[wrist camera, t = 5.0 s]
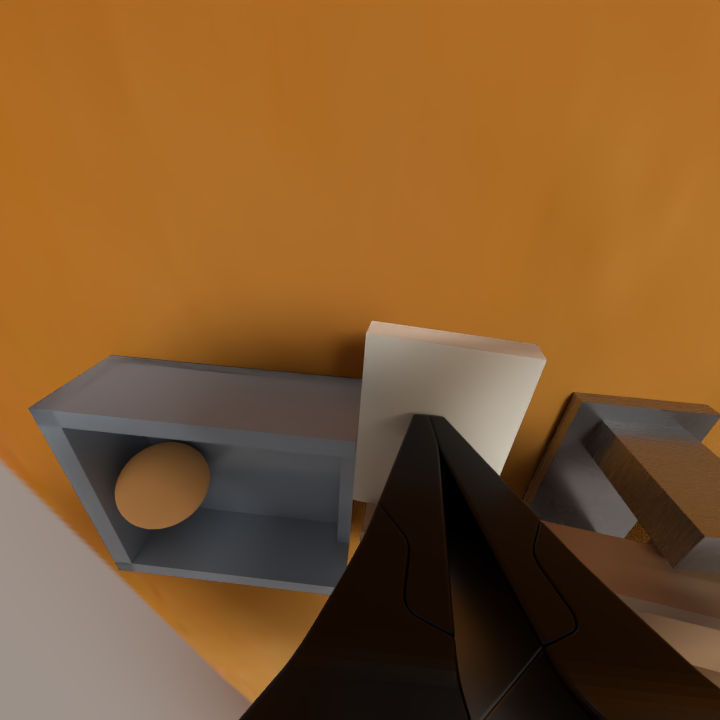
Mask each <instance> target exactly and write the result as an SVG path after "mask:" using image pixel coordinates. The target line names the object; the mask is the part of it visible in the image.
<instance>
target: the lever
mask: <svg viewBox="0 0 720 720" xmlns="http://www.w3.org/2000/svg"><path fill="white" fill-rule="evenodd" d="M546 361H547V360H546V358H545V356H544V355H543V353H542V352H541V350H540V348H539V347H538V345H537V344H532V343H525V342H518V341H511V340H504V339H497V338H490V337H483V336H476V335H469V334H462V333H455V332H448V331H441V330H434V329H427V328H420V327H413V326H406V325H399V324H392V323H385V322H378V321H372V322H371V324H370V326H369V328H368V330H367V332H366V340H365V352H364V365H363V377H362V389H361V401H360V413H359V425H358V438H357V450H356V462H355V474H354V486H353V500H357V501H361V502H366V503H367V507H366V511H365V516H364V521H363V525H362V530H361V537H360V541H361V540H362V538H363V536H364V534H365V531H366V529H367V527H368V525H369V523H370V520H371V518H372V515H373V513H374V510H375V508H376V506H377V503H378V501H379V498H380V496H381V493H382V491H383V488H384V486H385V483H386V481H387V478H388V476H389V473H390V471H391V469H392V466H393V464H394V461H395V459H396V456H397V454H398V451H399V449H400V446H401V444H402V441H403V439H404V436H405V434H406V431H407V429H408V426H409V424H410V421H411V419H412V416H413V415H414V414H424V415H428V416H429V415H435V416H443V417H445V418H446V419H447V420H448V421H449V423H450V424H451V425H452V426H453V427H454V428H455V429H456V430H457V431H458V432H459V433H460V434H461V435H462V436H463V437H464V439H465V440H466V441H467V442H468V443H469V444H470V445H471V446H472V447H473V448H474V449H475V450H476V451H477V452H478V453H479V454H480V456H481V457H482V458H483V459H484V460H485V461H486V462H487V463H488V464H489V465H490V466H491V467H492V468H493V469H494V470H495V472H496V473H497V474H498V475H499V476H500V474H501V471H502V469H503V466H504V464H505V462H506V459H507V457H508V454H509V452H510V449H511V447H512V444H513V442H514V439H515V437H516V435H517V432H518V430H519V427H520V425H521V422H522V420H523V417H524V415H525V412H526V410H527V408H528V405H529V403H530V400H531V398H532V395H533V393H534V390H535V388H536V385H537V383H538V381H539V378H540V376H541V373H542V371H543V368H544V366H545V363H546ZM540 521H542V520H540ZM540 521H539V522H540ZM542 522H544V524H545V525H546V526H547V527H548V528H549V529H550V530H551V531H552V532H553V533H554V534H555V535H556V536H557V537H558V538H559V539H560V540H561V541H562V542H563V543H564V545H565V546H566V547H567V548H568V549H569V550H570V551H571V552H572V553H573V554H574V555H575V556H576V557H577V558H578V559H579V560H580V561H581V562H582V563H583V564H584V565H585V566H586V567H587V568H588V569H590V570H591V571H592V572H593V573H594V574H595V575H596V576H597V577H598V578H599V579H600V580H601V581H602V582H603V583H604V584H605V585H606V586H607V587H608V588H609V589H610V590H612V591H613V592H614V593H615V594H616V595H617V596H618V597H619V598H620V599H621V600H622V601H623V602H625V603H626V604H627V605H628V606H629V607H630V608H631V609H632V610H633V611H634V612H635V613H636V614H637V615H639V616H640V617H641V618H642V619H643V620H644V621H645V622H646V623H647V624H648V625H649V626H650V627H652V628H653V629H654V630H655V631H656V632H657V633H658V634H659V635H660V636H661V637H662V638H663V639H664V640H666V641H667V642H668V643H669V644H670V645H671V646H672V647H673V648H674V649H675V650H676V651H677V652H678V653H680V654H681V655H682V656H683V657H684V658H685V659H686V660H687V661H688V662H689V663H691V664H692V665H693V666H694V667H695V668H696V669H697V670H698V671H700V672H701V673H702V674H703V675H704V676H705V677H707V678H708V679H709V680H710V681H712V682H713V683H714V684H715V685H717V686H718V687H719V688H720V574H716V573H707V572H698V571H689V570H681V569H673V568H672V567H671V565H670V564H669V562H668V561H667V560H666V558H665V557H664V556H663V554H662V553H661V552H660V550H659V549H658V547H657V546H656V545H655V543H654V542H653V541H652V539H650V541H649V542H648V543H642V542H638V541H633V540H628V539H624V538H619V537H615V536H610V535H606V534H601V533H597V532H592V531H587V530H583V529H578V528H574V527H569V526H565V525H560V524H556V523H551V522H546V521H542Z"/></svg>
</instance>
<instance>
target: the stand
mask: <svg viewBox="0 0 720 720" xmlns="http://www.w3.org/2000/svg"><path fill="white" fill-rule="evenodd" d="M719 418H720V414H719V413H718V412H717V411H715V410H714V409H712V408H711V407H709V406H708V405H700V404H689V403H679V402H669V401H658V400H648V399H637V398H627V397H616V396H606V395H595V394H585V393H575V392H574V393H573V395H572V398H571V400H570V402H569V404H568V406H567V408H566V410H565V412H564V414H563V416H562V418H561V420H560V422H559V424H558V427H557V429H556V431H555V433H554V435H553V437H552V439H551V441H550V443H549V445H548V447H547V449H546V451H545V453H544V455H543V458H542V460H541V462H540V464H539V466H538V468H537V470H536V472H535V474H534V476H533V478H532V480H531V482H530V484H529V486H528V489H527V491H526V493H525V495H524V497H523V499H522V500H523V501H524V502H525V503H526V505H527V506H528V507H529V508H530V509H531V510H532V511H533V512H534V513H535V514H536V515H537V516H538V517H539V519H540V520H542V521H546V522H551V523H556V524H560V525H565V526H569V527H574V528H578V529H583V530H587V531H592V532H597V533H601V534H606V535H610V536H615V537H619V538H625V536H626V535H627V534H628V533H629V531H630V530H631V529H632V528H633V526H634V525H635V524H636V523H637V521H639V523H640V524H641V525H642V527H643V528H644V530H645V531H646V532H647V534H648V535H649V536H650V538H651V539H652V541H653V542H654V543H655V545H656V546H657V547H658V549H659V550H660V552H661V553H662V554H663V556H664V557H665V558H666V560H667V561H668V562H669V564H670V565H671V567H672V568H673V569H681V570H689V571H698V572H707V573H716V574H720V458H719V457H717V456H716V455H715V454H714V453H713V452H712V451H710V450H709V449H708V448H707V447H706V446H704V445H703V444H702V443H701V441H702V440H703V438H704V437H705V436H706V435H707V433H708V432H709V431H710V430H711V428H712V427H713V426H714V425H715V423H716V422H717V421H718V420H719ZM366 507H367V503H366ZM365 511H366V508H365Z"/></svg>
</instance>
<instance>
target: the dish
mask: <svg viewBox="0 0 720 720" xmlns="http://www.w3.org/2000/svg"><path fill="white" fill-rule="evenodd" d="M361 389H362V379H353V378H343V377H333V376H322V375H312V374H302V373H291V372H281V371H270V370H260V369H250V368H239V367H229V366H219V365H208V364H198V363H188V362H177V361H167V360H156V359H146V358H136V357H125V356H115V355H110V356H109V357H107V358H106V359H104V360H103V361H101V362H99V363H98V364H96V365H95V366H93V367H92V368H90V369H89V370H87V371H85V372H84V373H82V374H81V375H79V376H78V377H76V378H75V379H73V380H71V381H70V382H68V383H67V384H65V385H64V386H62V387H60V388H59V389H57V390H56V391H54V392H53V393H51V394H50V395H48V396H46V397H45V398H43V399H42V400H40V401H39V402H37V403H35V404H34V405H32V406H31V407H29V408H28V409H29V410H30V412H31V414H32V416H33V417H34V419H35V421H36V423H37V425H38V426H39V428H40V430H41V432H42V433H43V435H44V437H45V439H46V441H47V442H48V444H49V446H50V448H51V449H52V451H53V453H54V455H55V457H56V458H57V460H58V462H59V464H60V465H61V467H62V469H63V471H64V473H65V474H66V476H67V478H68V480H69V481H70V483H71V485H72V487H73V489H74V490H75V492H76V494H77V496H78V497H79V499H80V501H81V503H82V505H83V506H84V508H85V510H86V512H87V513H88V515H89V517H90V519H91V521H92V522H93V524H94V526H95V528H96V529H97V531H98V533H99V535H100V537H101V538H102V540H103V542H104V544H105V545H106V547H107V549H108V551H109V553H110V554H111V556H112V558H113V560H114V561H115V563H116V565H117V567H118V568H119V570H125V571H133V572H142V573H150V574H158V575H167V576H175V577H184V578H192V579H200V580H209V581H217V582H225V583H234V584H242V585H251V586H259V587H267V588H276V589H284V590H292V591H301V592H309V593H317V594H326V595H331V593H332V592H333V590H334V588H335V587H336V585H337V583H338V581H339V580H340V578H341V576H342V575H343V573H344V571H345V569H346V568H347V560H348V551H349V541H350V532H351V522H352V510H353V486H354V474H355V462H356V450H357V438H358V425H359V413H360V401H361ZM164 442H178V443H183V444H187V445H189V446H191V447H193V448H195V449H196V450H197V451H198V452H200V453H201V454H202V456H203V457H204V458H205V460H206V462H207V464H208V467H209V471H210V483H209V488H208V491H207V494H206V496H205V498H204V500H203V502H202V503H201V505H200V506H199V507H198V509H197V510H196V511H195V512H194V513H193V514H191V515H190V516H189V517H188V518H186V519H185V520H183V521H181V522H180V523H178V524H175V525H173V526H170V527H166V528H162V529H145V528H141V527H138V526H135V525H133V524H131V523H130V522H128V521H127V520H126V519H125V518H124V517H123V516H122V515H121V513H120V512H119V510H118V508H117V505H116V501H115V486H116V482H117V479H118V477H119V475H120V472H121V470H122V469H123V468H124V466H125V465H126V464H127V462H128V461H129V460H130V459H131V458H132V457H134V456H135V455H136V454H137V453H139V452H140V451H142V450H144V449H145V448H147V447H150V446H152V445H155V444H159V443H164Z"/></svg>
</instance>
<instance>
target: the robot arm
mask: <svg viewBox="0 0 720 720" xmlns="http://www.w3.org/2000/svg"><path fill="white" fill-rule="evenodd" d="M539 521H540V519H539V517H538V516H537V515H536V514H535V513H534V512H533V511H532V510H531V509H530V508H529V507H528V506H527V505H526V503H525V502H524V501H523V500H522V499H521V498H520V497H519V496H518V495H517V494H516V493H515V492H514V491H513V490H512V489H511V487H510V486H509V485H508V484H507V483H506V482H505V481H504V480H503V479H502V478H501V477H500V476H499V475H498V474H497V473H496V472H495V470H494V469H493V468H492V467H491V466H490V465H489V464H488V463H487V462H486V461H485V460H484V459H483V458H482V457H481V456H480V454H479V453H478V452H477V451H476V450H475V449H474V448H473V447H472V446H471V445H470V444H469V443H468V442H467V441H466V440H465V439H464V437H463V436H462V435H461V434H460V433H459V432H458V431H457V430H456V429H455V428H454V427H453V426H452V425H451V424H450V423H449V421H448V420H447V419H446V418H445V417H443V416H435V415H429V416H428V415H424V414H414V415H413V416H412V419H411V421H410V424H409V426H408V429H407V431H406V434H405V436H404V439H403V441H402V444H401V446H400V449H399V451H398V454H397V456H396V459H395V461H394V464H393V466H392V469H391V471H390V473H389V476H388V478H387V481H386V483H385V486H384V488H383V491H382V493H381V496H380V498H379V501H378V503H377V506H376V508H375V510H374V513H373V515H372V518H371V520H370V523H369V525H368V527H367V529H366V531H365V534H364V536H363V538H362V540H361V542H360V544H359V546H358V548H357V550H356V551H355V553H354V555H353V557H352V559H351V561H350V563H349V564H348V566H347V568H346V569H345V571H344V573H343V575H342V576H341V578H340V580H339V581H338V583H337V585H336V587H335V588H334V590H333V592H332V593H331V595H330V597H329V598H328V600H327V602H326V604H325V605H324V607H323V609H322V610H321V612H320V614H319V615H318V617H317V619H316V621H315V622H314V624H313V625H312V627H311V629H310V630H309V632H308V633H307V635H306V637H305V638H304V640H303V641H302V643H301V644H300V646H299V647H298V649H297V650H296V652H295V653H294V654H293V656H292V657H291V659H290V660H289V661H288V663H287V664H286V665H285V667H284V668H283V669H282V670H281V671H280V672H279V674H278V675H277V676H276V677H275V678H274V679H273V680H272V682H271V683H270V684H269V685H268V686H267V687H266V689H265V690H264V691H263V692H262V693H261V694H260V696H259V697H258V698H257V699H256V700H255V701H254V703H253V704H252V705H251V706H250V707H249V708H248V710H247V711H246V712H245V713H244V714H243V715H242V716H241V718H240V719H239V720H720V688H719V687H718V686H717V685H715V684H714V683H713V682H712V681H710V680H709V679H708V678H707V677H705V676H704V675H703V674H702V673H701V672H700V671H698V670H697V669H696V668H695V667H694V666H693V665H692V664H691V663H689V662H688V661H687V660H686V659H685V658H684V657H683V656H682V655H681V654H680V653H678V652H677V651H676V650H675V649H674V648H673V647H672V646H671V645H670V644H669V643H668V642H667V641H666V640H664V639H663V638H662V637H661V636H660V635H659V634H658V633H657V632H656V631H655V630H654V629H653V628H652V627H650V626H649V625H648V624H647V623H646V622H645V621H644V620H643V619H642V618H641V617H640V616H639V615H637V614H636V613H635V612H634V611H633V610H632V609H631V608H630V607H629V606H628V605H627V604H626V603H625V602H623V601H622V600H621V599H620V598H619V597H618V596H617V595H616V594H615V593H614V592H613V591H612V590H610V589H609V588H608V587H607V586H606V585H605V584H604V583H603V582H602V581H601V580H600V579H599V578H598V577H597V576H596V575H595V574H594V573H593V572H592V571H591V570H590V569H588V568H587V567H586V566H585V565H584V564H583V563H582V562H581V561H580V560H579V559H578V558H577V557H576V556H575V555H574V554H573V553H572V552H571V551H570V550H569V549H568V548H567V547H566V546H565V545H564V543H563V542H562V541H561V540H560V539H559V538H558V537H557V536H556V535H555V534H554V533H553V532H552V531H551V530H550V529H549V528H548V527H547V526H546V525H545V524H544V522H542V521H540V522H539Z"/></svg>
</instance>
